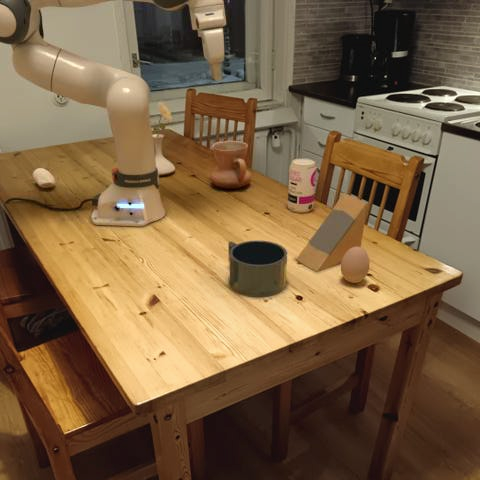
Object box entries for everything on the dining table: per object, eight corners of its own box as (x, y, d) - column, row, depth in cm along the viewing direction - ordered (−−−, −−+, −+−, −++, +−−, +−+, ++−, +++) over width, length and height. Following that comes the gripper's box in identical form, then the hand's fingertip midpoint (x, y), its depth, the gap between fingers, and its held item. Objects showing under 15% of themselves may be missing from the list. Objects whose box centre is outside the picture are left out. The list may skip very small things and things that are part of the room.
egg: (348, 290, 118) (353, 255, 113) (333, 278, 123) (337, 244, 118) (372, 285, 120) (378, 250, 115) (356, 273, 125) (361, 239, 120)
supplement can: (315, 205, 163) (319, 159, 155) (309, 215, 157) (313, 167, 148) (291, 202, 165) (293, 156, 157) (284, 211, 159) (287, 164, 150)
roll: (42, 194, 172) (39, 178, 169) (34, 184, 180) (30, 168, 177) (60, 191, 175) (57, 175, 171) (51, 181, 183) (47, 166, 180)
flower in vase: (162, 179, 185) (156, 107, 171) (139, 174, 190) (131, 103, 176) (184, 170, 194) (180, 101, 180) (161, 165, 199) (155, 98, 185)
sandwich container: (294, 259, 131) (298, 204, 123) (337, 245, 139) (343, 192, 130) (316, 272, 126) (321, 215, 117) (359, 256, 133) (368, 202, 124)
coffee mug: (297, 284, 120) (299, 254, 116) (254, 303, 113) (255, 271, 109) (249, 258, 132) (250, 230, 127) (208, 274, 125) (207, 244, 120)
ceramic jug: (202, 181, 183) (201, 141, 175) (238, 176, 188) (238, 136, 181) (223, 197, 170) (222, 154, 162) (261, 190, 175) (262, 149, 167)
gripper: (194, 22, 137) (202, 77, 144) (198, 21, 119) (208, 84, 126) (216, 18, 137) (224, 74, 144) (224, 17, 120) (232, 81, 127)
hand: (216, 79), depth 135 cm, fingers open, 8 cm apart
